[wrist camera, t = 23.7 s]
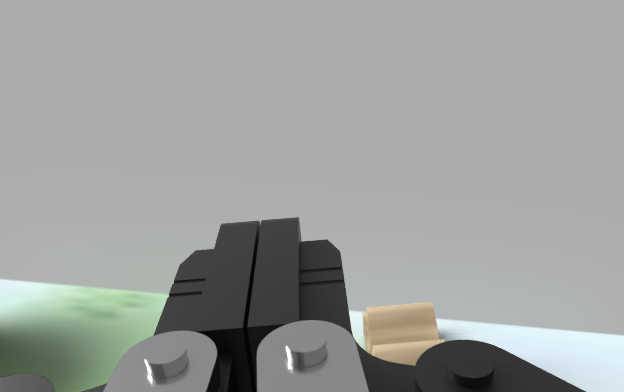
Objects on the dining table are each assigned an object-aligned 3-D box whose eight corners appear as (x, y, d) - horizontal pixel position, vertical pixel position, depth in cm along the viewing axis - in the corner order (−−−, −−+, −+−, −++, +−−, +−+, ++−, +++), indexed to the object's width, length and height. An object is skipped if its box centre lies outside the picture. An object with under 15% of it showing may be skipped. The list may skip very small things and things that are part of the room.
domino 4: (460, 435, 38) (431, 301, 45) (383, 441, 38) (366, 307, 45) (456, 445, 40) (429, 315, 46) (382, 451, 40) (366, 320, 47)
